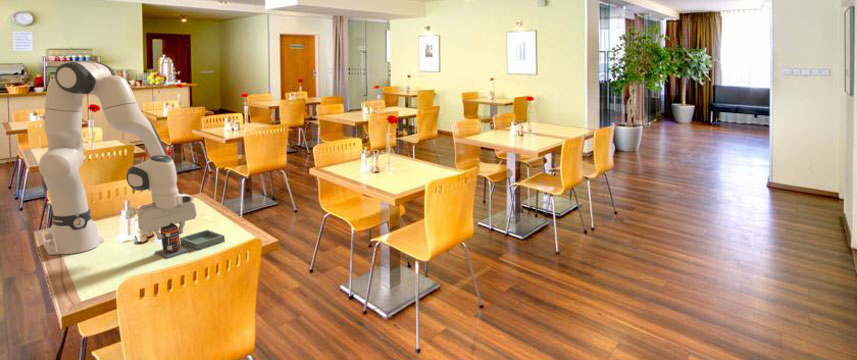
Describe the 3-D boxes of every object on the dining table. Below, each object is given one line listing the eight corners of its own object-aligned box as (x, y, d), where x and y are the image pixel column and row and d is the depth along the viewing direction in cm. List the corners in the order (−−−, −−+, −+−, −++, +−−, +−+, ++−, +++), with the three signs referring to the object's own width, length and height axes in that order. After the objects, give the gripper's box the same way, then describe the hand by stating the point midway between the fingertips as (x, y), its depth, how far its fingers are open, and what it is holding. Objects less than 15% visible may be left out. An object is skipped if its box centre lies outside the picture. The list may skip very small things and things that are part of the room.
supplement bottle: (174, 253, 193) (169, 224, 190) (159, 252, 194) (155, 223, 191) (184, 247, 199) (180, 218, 196) (170, 246, 200) (166, 217, 197)
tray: (180, 243, 205) (179, 237, 204) (208, 235, 214) (207, 229, 213) (197, 250, 198) (196, 244, 197) (224, 241, 207) (224, 235, 207)
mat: (154, 253, 196) (154, 251, 195) (178, 245, 203) (178, 244, 202) (167, 258, 190) (167, 257, 190) (191, 251, 197) (191, 249, 197)
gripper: (141, 208, 182) (146, 246, 185) (196, 195, 198) (200, 230, 201) (132, 205, 185) (137, 242, 189) (187, 192, 201) (191, 227, 205)
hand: (170, 236), depth 195 cm, fingers closed on supplement bottle, 6 cm apart
